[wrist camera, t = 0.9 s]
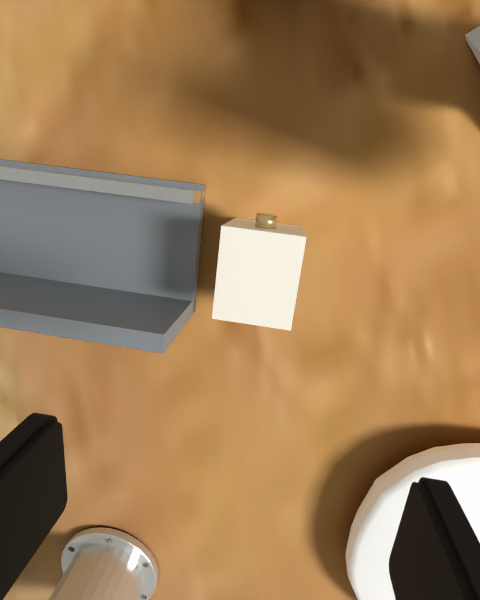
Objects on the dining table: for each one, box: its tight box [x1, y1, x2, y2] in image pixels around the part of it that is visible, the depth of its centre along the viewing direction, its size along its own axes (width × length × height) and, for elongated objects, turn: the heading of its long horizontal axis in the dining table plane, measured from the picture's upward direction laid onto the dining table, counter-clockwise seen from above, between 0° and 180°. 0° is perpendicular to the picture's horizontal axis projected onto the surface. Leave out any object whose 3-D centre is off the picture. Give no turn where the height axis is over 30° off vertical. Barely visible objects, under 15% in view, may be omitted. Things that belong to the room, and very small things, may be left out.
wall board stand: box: [0, 159, 206, 353], centre depth 31 cm, size 12×22×10 cm, turn 83°
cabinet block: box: [212, 213, 306, 330], centre depth 31 cm, size 8×6×8 cm
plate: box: [345, 443, 480, 600], centre depth 38 cm, size 28×6×27 cm
